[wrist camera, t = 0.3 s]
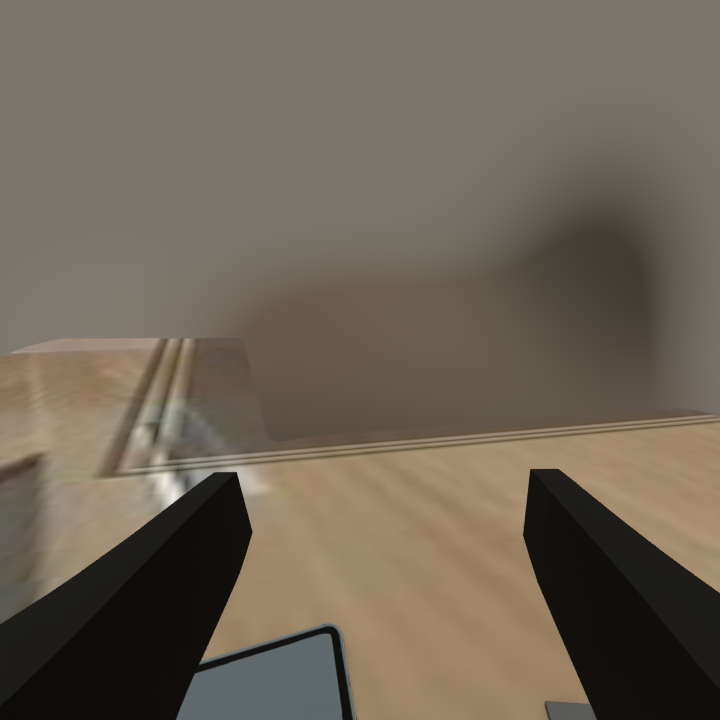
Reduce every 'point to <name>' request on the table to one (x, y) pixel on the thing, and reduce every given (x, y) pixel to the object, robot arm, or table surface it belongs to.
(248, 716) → the smartphone
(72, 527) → the table surface
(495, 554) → the table surface
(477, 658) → the table surface
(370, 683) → the table surface
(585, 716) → the mat
